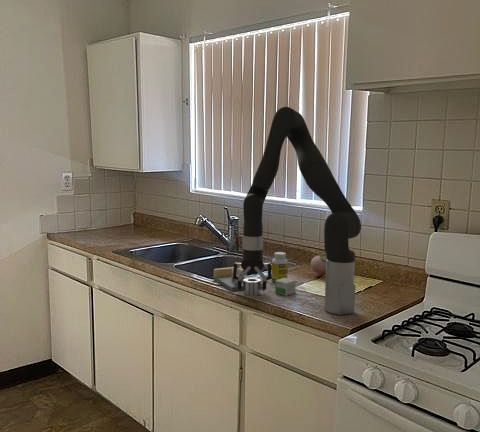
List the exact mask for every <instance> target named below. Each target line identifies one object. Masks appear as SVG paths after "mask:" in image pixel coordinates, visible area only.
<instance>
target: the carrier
mask: <svg viewBox="0 0 480 432" xmlns="http://www.w3.org/2000/svg"><path fill="white" fill-rule="evenodd" d="M233 270H234V266H230V267H221V268H219V267H218V268H213V280H214V282H216V281H218V282H219V283H218V282H217V283H218V284H220V283H221V284H222V287H224V286H225V287H224V288H225V289H227V290H229V291H230V292H238V291H240V289H238V280H236V279H233ZM242 271H243V268H242V267H241V266H240V267H239V269H237V274H236V275H237V276H239V275H240V274H241V272H242ZM246 278H251V277H250V275H248V274H246V275H245V276H244V277H243V278H242V279H241V280H242V290H241V291H243V280H244V279H246ZM221 284H220V285H221ZM262 285H263V282H261V289H262Z"/></svg>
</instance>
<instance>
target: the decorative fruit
mask: <svg viewBox="0 0 480 432" xmlns="http://www.w3.org/2000/svg"><path fill="white" fill-rule="evenodd" d="M326 259H327V256H325V255H324V254H323V253H321V254H317V255H316V256H314V257H313V258H312V259H311V261H310V267H311V270H312V271H313V272H314V273H316V274H317V275H319V276H320V277H324V276H326Z"/></svg>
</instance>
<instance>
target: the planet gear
mask: <svg viewBox="0 0 480 432" xmlns="http://www.w3.org/2000/svg"><path fill="white" fill-rule="evenodd" d="M261 283H262V280H261V279H260V278H257V277H250V278H246V279H244V280H243V290H242V292H243V294H244V295H245V296H249V297H250V296H251V297H255V296H260V295H261V294H262V293H261V291H262V290H261V289H262V288H261Z"/></svg>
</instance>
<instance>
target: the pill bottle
mask: <svg viewBox="0 0 480 432" xmlns="http://www.w3.org/2000/svg"><path fill="white" fill-rule="evenodd" d="M273 256H274V258H273V259H272V261H271V276H272V278H271V282H273V283H275V280H278V279H282V278H287V279H288V274H289V271H288V269H289V268H288V266H289V260H288V259H287V258H286V257H287V254H286V252H283V251H277V252H276V251H275V252H274V254H273Z"/></svg>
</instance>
